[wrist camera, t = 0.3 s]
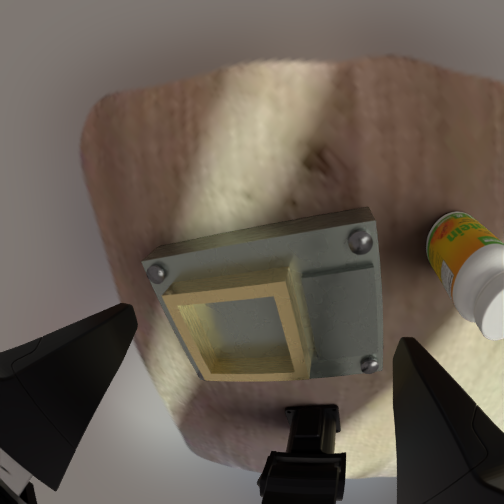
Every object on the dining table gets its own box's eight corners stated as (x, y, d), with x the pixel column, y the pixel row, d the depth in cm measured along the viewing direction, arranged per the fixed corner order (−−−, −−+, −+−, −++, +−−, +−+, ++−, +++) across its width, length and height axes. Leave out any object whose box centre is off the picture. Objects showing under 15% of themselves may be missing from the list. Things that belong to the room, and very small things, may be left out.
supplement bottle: (475, 202, 17) (546, 257, 9) (479, 261, 19) (533, 332, 10) (419, 219, 19) (473, 288, 11) (428, 278, 21) (467, 361, 12)
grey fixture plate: (379, 347, 25) (384, 387, 20) (209, 360, 30) (193, 393, 26) (368, 206, 20) (381, 231, 15) (158, 246, 25) (128, 273, 21)
